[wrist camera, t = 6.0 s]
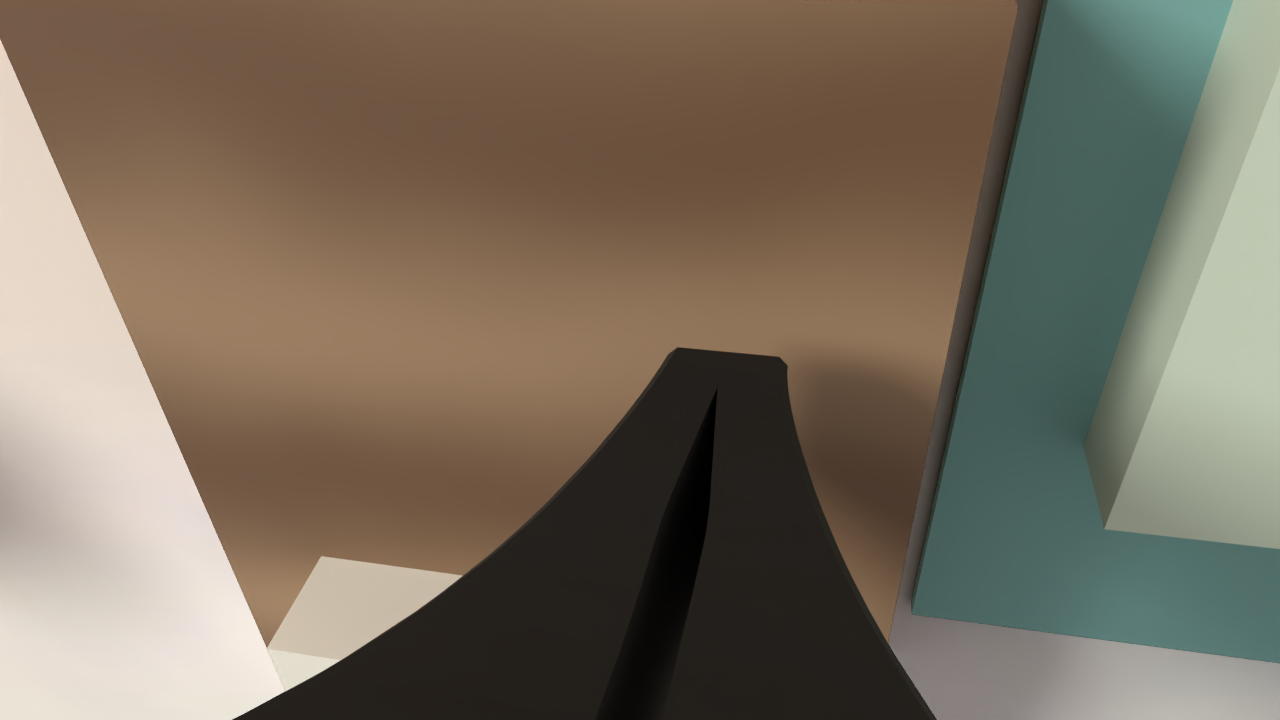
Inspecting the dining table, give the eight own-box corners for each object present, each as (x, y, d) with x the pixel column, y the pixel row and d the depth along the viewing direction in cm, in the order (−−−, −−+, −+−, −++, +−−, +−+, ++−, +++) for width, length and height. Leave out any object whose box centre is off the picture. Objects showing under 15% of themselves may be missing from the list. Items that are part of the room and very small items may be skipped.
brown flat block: (854, 652, 22) (851, 819, 19) (374, 585, 24) (301, 725, 21) (982, -88, 13) (1018, 6, 9) (165, -97, 15) (-26, -21, 12)
